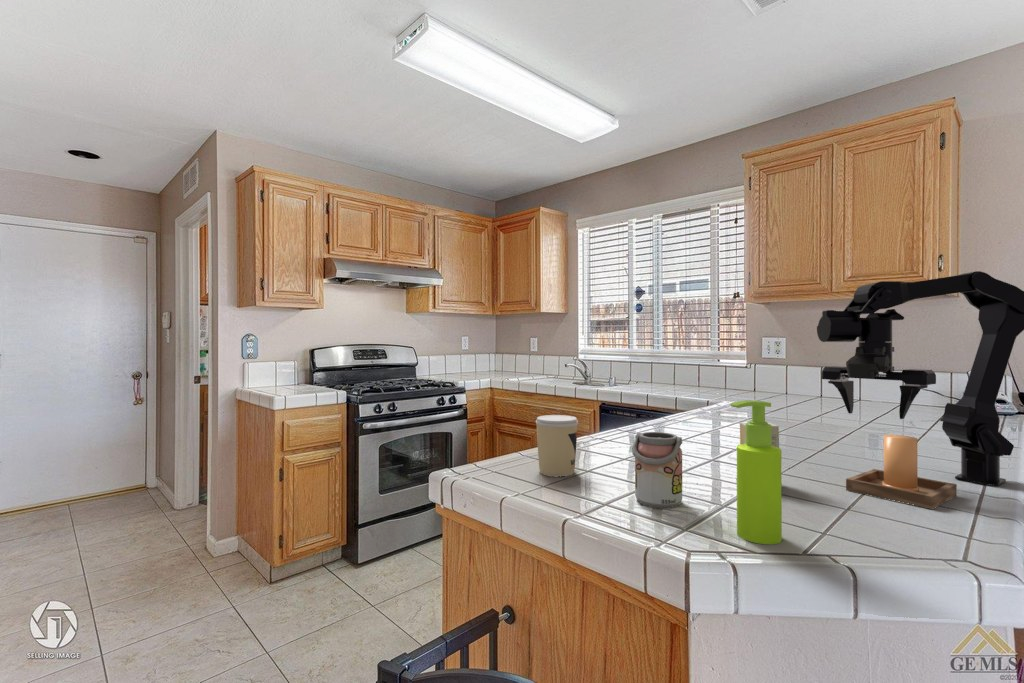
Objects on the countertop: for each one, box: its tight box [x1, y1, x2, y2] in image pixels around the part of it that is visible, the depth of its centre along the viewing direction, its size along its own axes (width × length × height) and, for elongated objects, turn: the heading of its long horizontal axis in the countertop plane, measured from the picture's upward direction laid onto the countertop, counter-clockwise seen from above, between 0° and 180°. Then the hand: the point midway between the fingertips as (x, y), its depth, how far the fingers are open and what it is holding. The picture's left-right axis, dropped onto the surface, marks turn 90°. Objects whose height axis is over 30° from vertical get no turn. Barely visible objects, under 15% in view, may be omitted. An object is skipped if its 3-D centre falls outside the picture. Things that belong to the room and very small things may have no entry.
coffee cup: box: [535, 414, 579, 478], centre depth 107 cm, size 9×9×12 cm
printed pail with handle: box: [631, 431, 683, 509], centre depth 86 cm, size 9×8×12 cm
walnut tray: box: [845, 468, 958, 510], centre depth 92 cm, size 13×13×2 cm
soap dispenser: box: [729, 399, 783, 545], centre depth 71 cm, size 6×7×20 cm
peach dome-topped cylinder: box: [882, 434, 919, 493], centre depth 92 cm, size 5×5×10 cm
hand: (875, 416), depth 102 cm, fingers open, 9 cm apart
